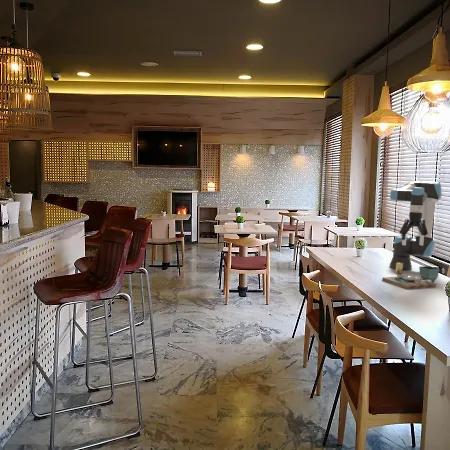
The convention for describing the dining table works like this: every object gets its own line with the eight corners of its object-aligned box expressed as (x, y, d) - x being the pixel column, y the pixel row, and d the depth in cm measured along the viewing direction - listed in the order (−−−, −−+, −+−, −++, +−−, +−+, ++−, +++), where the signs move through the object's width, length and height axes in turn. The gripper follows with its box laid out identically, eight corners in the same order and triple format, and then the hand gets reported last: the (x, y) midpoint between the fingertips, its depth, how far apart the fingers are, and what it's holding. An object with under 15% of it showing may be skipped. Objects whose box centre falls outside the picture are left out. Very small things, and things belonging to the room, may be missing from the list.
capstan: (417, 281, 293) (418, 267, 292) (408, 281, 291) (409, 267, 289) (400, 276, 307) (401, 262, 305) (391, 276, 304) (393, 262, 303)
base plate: (409, 278, 310) (409, 273, 309) (435, 287, 289) (436, 281, 289) (382, 280, 301) (382, 275, 301) (407, 289, 281) (408, 283, 281)
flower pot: (417, 279, 308) (418, 266, 307) (428, 279, 311) (429, 265, 310) (427, 283, 300) (429, 269, 299) (438, 282, 303) (439, 268, 302)
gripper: (403, 211, 293) (400, 245, 295) (436, 213, 301) (432, 246, 303) (395, 210, 300) (392, 244, 302) (427, 212, 308) (424, 244, 310)
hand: (412, 245), depth 302 cm, fingers open, 13 cm apart
